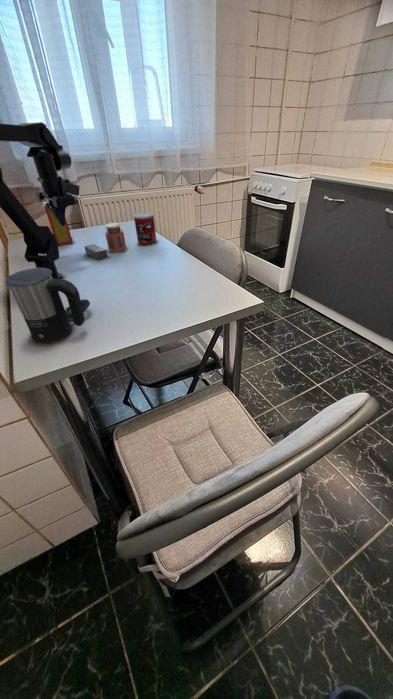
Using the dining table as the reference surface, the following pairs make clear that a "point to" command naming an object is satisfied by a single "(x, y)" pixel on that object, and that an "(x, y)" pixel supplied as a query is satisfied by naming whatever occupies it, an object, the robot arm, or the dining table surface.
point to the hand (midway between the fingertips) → (63, 225)
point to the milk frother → (46, 303)
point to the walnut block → (96, 251)
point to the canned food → (145, 228)
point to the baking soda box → (59, 229)
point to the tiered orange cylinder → (115, 238)
